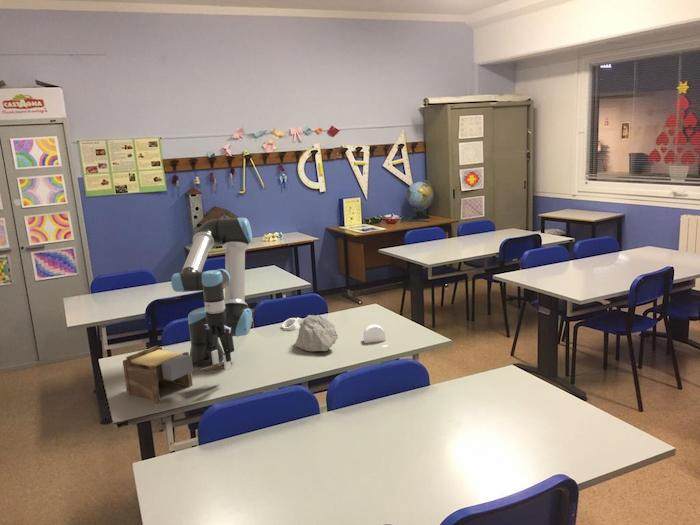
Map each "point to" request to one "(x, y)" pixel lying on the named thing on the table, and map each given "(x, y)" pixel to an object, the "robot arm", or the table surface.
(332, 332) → the grey boulder
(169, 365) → the trapdoor
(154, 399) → the wooden box
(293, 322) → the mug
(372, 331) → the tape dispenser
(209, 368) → the stone
